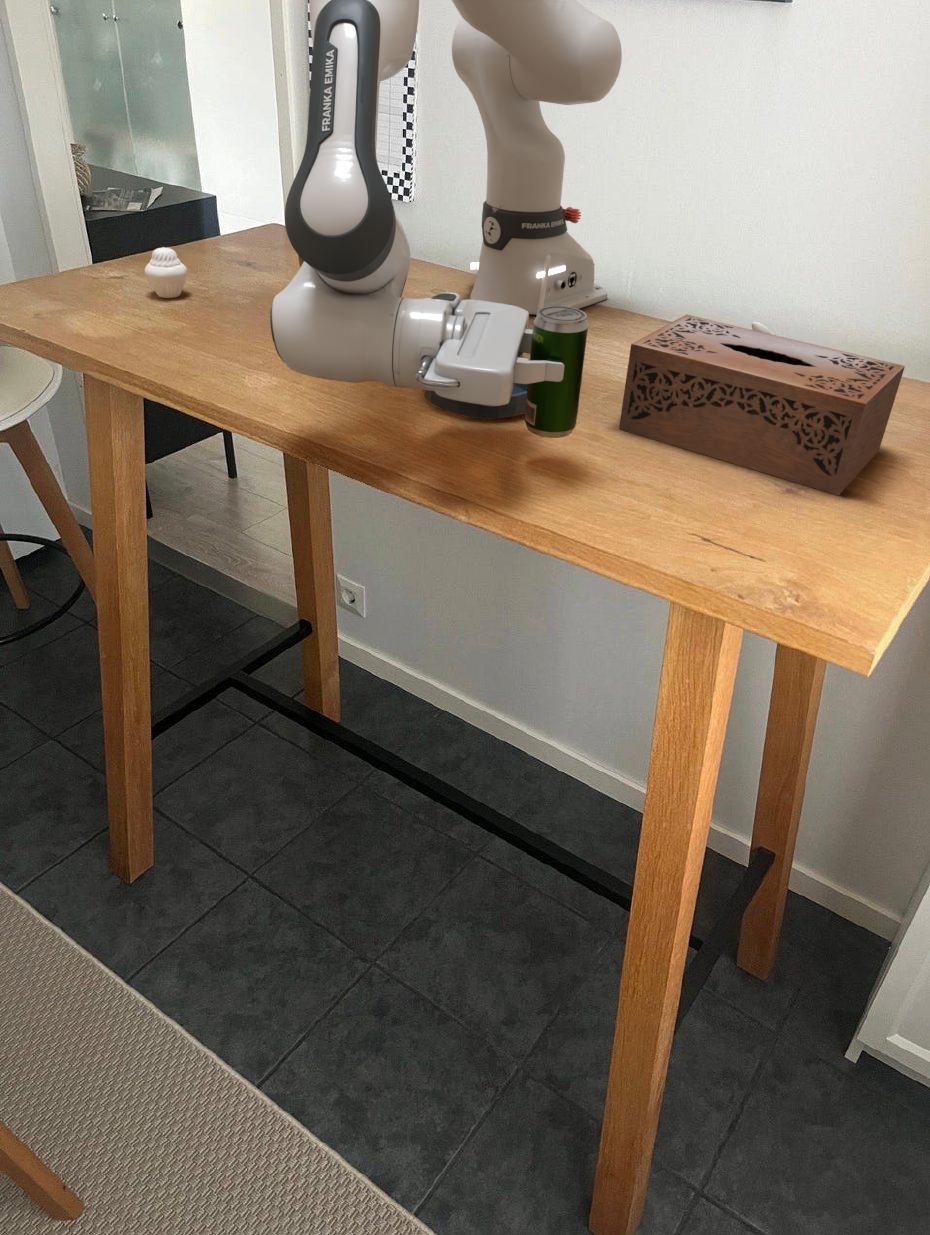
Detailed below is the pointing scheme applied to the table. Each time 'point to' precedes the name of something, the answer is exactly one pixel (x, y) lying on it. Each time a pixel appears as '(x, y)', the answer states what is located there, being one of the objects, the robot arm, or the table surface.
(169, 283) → the muffin
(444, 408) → the bowl
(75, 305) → the table surface
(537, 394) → the beer can
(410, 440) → the table surface
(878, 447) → the tissue box cover
